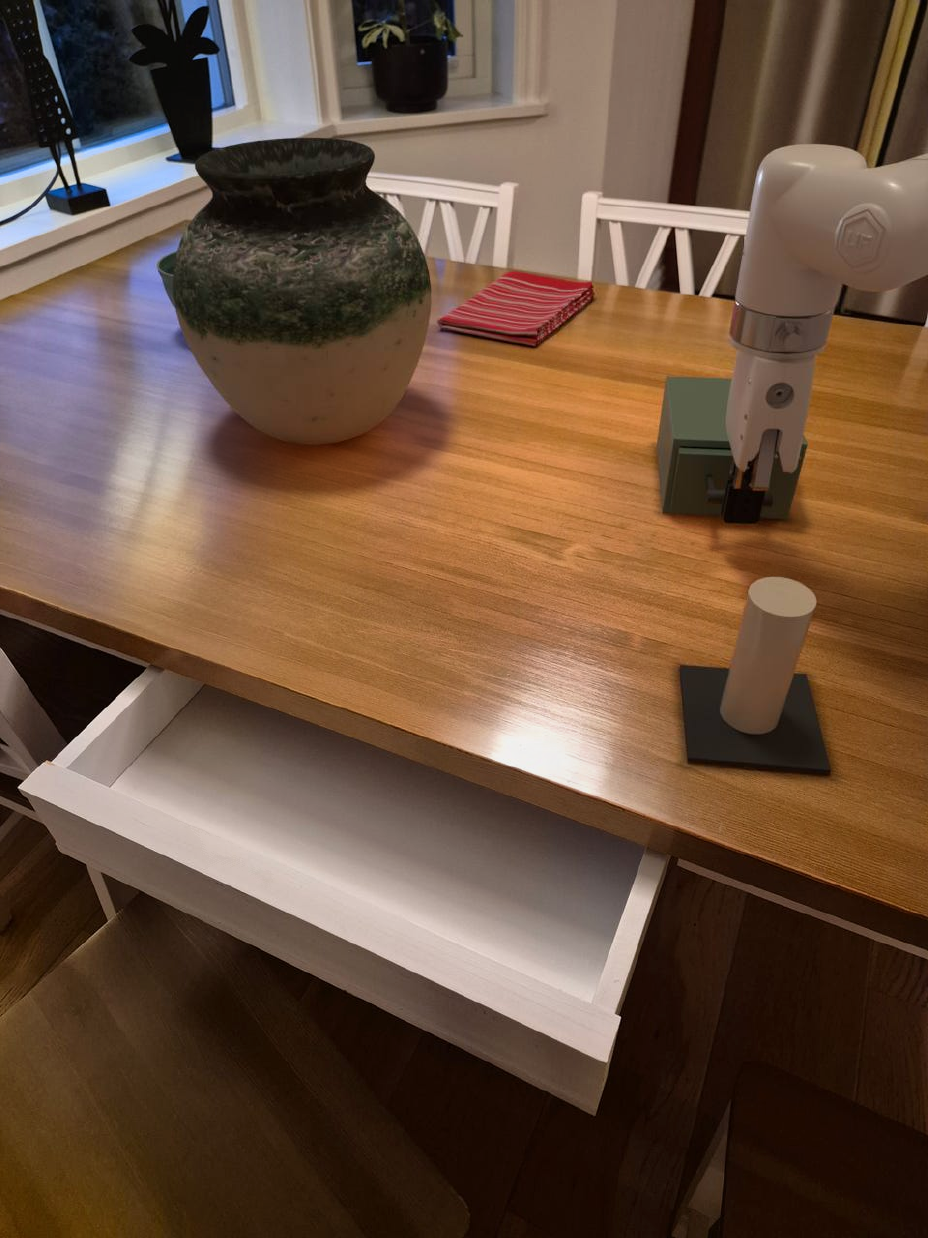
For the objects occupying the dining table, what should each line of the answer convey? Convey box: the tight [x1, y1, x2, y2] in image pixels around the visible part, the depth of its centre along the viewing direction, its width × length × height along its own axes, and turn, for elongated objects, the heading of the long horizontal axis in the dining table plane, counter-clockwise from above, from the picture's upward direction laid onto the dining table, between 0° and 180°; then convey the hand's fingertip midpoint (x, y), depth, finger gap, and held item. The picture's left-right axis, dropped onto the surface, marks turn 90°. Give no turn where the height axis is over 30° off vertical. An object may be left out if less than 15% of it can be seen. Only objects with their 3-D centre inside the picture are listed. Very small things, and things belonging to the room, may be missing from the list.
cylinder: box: [720, 576, 817, 734], centre depth 60 cm, size 4×4×12 cm
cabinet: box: [656, 375, 809, 521], centre depth 89 cm, size 15×13×9 cm
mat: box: [678, 664, 832, 776], centre depth 64 cm, size 10×10×1 cm
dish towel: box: [436, 270, 596, 347], centre depth 131 cm, size 17×24×3 cm
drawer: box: [670, 446, 801, 518], centre depth 86 cm, size 18×11×7 cm, turn 172°
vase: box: [173, 137, 432, 446], centre depth 94 cm, size 28×28×30 cm
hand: (738, 518), depth 78 cm, fingers closed
